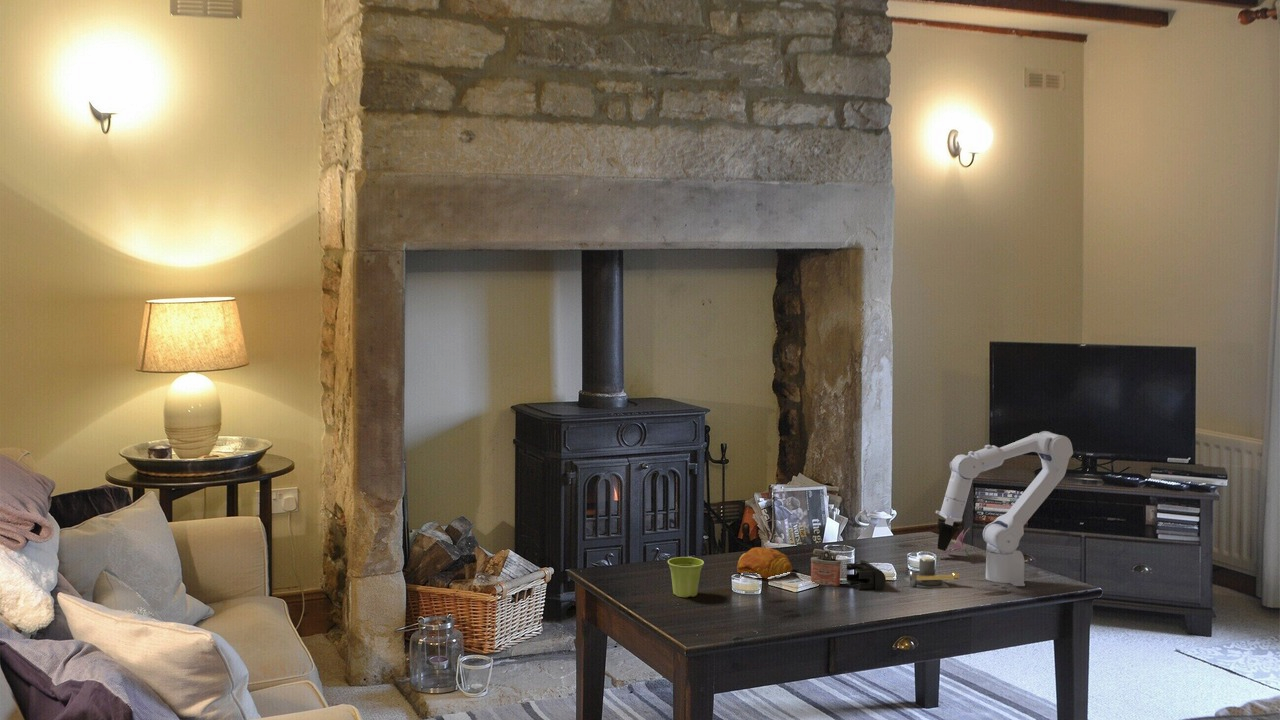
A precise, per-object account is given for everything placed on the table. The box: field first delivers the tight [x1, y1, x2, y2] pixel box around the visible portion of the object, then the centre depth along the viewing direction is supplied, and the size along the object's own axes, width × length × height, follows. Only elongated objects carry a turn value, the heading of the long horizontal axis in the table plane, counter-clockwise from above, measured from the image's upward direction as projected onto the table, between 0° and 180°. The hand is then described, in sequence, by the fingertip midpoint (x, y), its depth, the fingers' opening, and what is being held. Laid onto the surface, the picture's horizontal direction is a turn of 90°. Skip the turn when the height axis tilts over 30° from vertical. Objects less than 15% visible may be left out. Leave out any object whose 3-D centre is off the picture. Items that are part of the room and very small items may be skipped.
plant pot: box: [667, 556, 705, 598], centre depth 289 cm, size 9×9×9 cm
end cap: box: [846, 559, 887, 591], centre depth 295 cm, size 10×7×7 cm
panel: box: [903, 577, 950, 589], centre depth 297 cm, size 16×13×1 cm
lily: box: [940, 528, 972, 561], centre depth 328 cm, size 12×12×10 cm
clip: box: [909, 570, 960, 588], centre depth 295 cm, size 13×2×4 cm, turn 96°
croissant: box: [736, 546, 793, 578], centre depth 311 cm, size 14×16×8 cm
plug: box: [917, 556, 943, 588], centre depth 298 cm, size 8×8×7 cm
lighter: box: [810, 548, 842, 587], centre depth 297 cm, size 8×3×10 cm, turn 65°
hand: (941, 548), depth 300 cm, fingers open, 7 cm apart
